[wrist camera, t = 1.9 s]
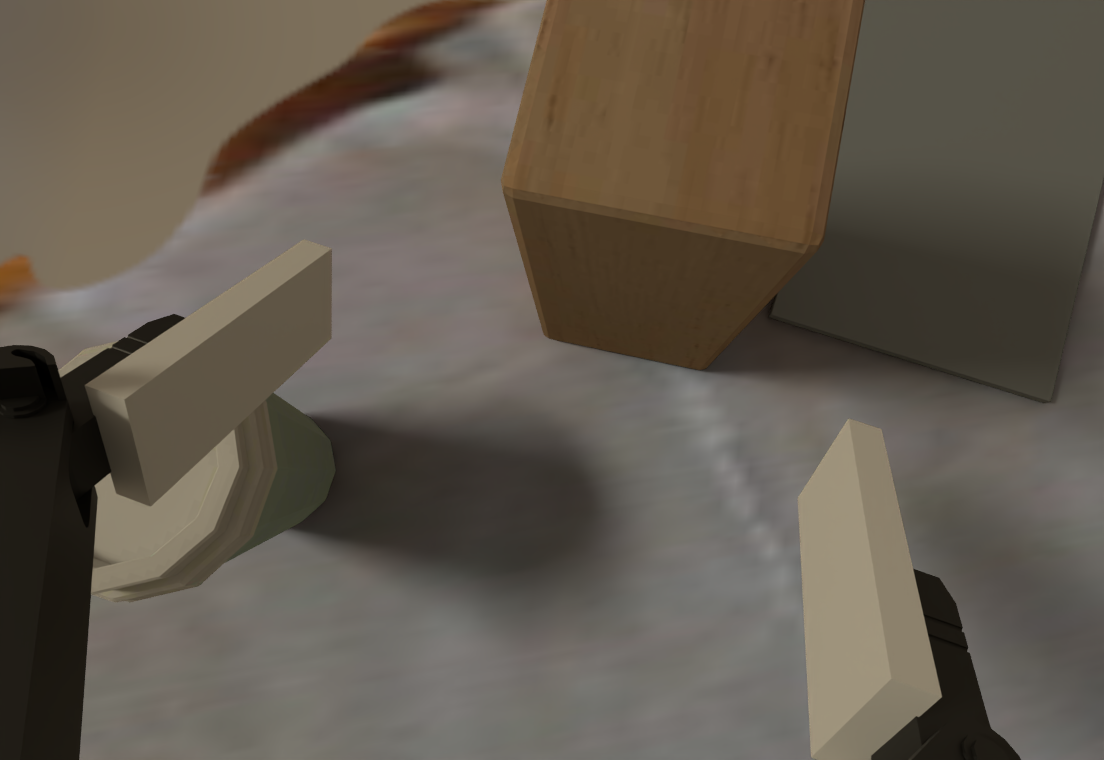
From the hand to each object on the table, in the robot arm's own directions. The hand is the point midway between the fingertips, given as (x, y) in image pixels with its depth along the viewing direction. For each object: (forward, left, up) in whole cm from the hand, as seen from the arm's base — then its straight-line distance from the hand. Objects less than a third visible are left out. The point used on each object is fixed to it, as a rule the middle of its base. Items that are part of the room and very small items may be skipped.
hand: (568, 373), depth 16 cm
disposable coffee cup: (+16, +7, -23) cm, 29 cm away
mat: (-16, -25, -22) cm, 37 cm away
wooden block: (0, -11, -23) cm, 25 cm away
